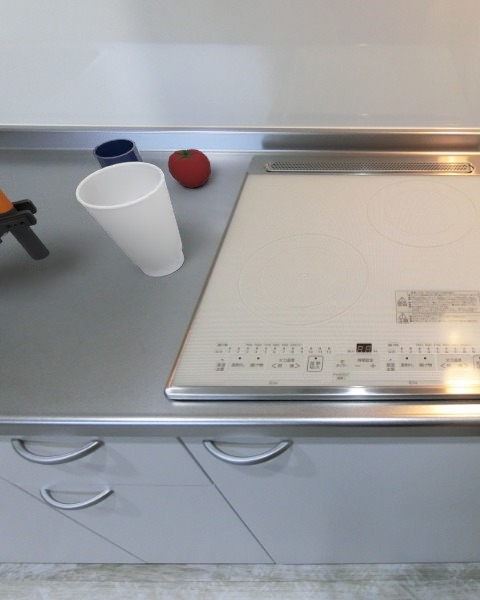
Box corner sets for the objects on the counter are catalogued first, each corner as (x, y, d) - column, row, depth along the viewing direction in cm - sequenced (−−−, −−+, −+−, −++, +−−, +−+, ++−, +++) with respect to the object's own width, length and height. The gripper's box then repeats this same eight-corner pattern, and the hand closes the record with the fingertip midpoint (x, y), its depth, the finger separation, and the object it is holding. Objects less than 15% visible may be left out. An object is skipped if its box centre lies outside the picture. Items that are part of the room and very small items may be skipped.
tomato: (216, 170, 95) (206, 139, 89) (211, 191, 89) (199, 160, 84) (178, 172, 94) (165, 141, 89) (170, 194, 89) (156, 162, 83)
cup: (171, 294, 70) (126, 214, 59) (110, 278, 73) (54, 198, 61) (212, 248, 78) (180, 168, 66) (156, 234, 80) (115, 155, 68)
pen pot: (105, 184, 91) (85, 148, 85) (141, 169, 95) (124, 134, 89) (123, 198, 87) (103, 162, 82) (158, 182, 91) (142, 147, 85)
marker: (29, 255, 68) (-26, 190, 59) (46, 247, 70) (-5, 183, 61) (35, 262, 67) (-19, 198, 58) (52, 254, 69) (2, 190, 60)
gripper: (-155, 258, 51) (16, 216, 57) (-130, 196, 59) (18, 165, 65) (-101, 300, 57) (49, 258, 63) (-85, 238, 65) (48, 206, 71)
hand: (33, 211), depth 64 cm, fingers closed on marker, 2 cm apart
